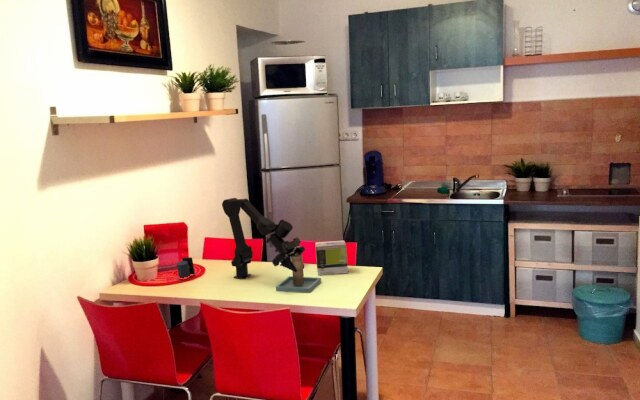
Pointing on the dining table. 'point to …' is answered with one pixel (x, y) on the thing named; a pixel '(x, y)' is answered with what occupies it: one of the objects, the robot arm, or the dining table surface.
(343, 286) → the dining table surface
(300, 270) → the pepper mill
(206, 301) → the dining table surface
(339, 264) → the tea box
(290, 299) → the dining table surface
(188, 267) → the speaker
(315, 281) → the tray
